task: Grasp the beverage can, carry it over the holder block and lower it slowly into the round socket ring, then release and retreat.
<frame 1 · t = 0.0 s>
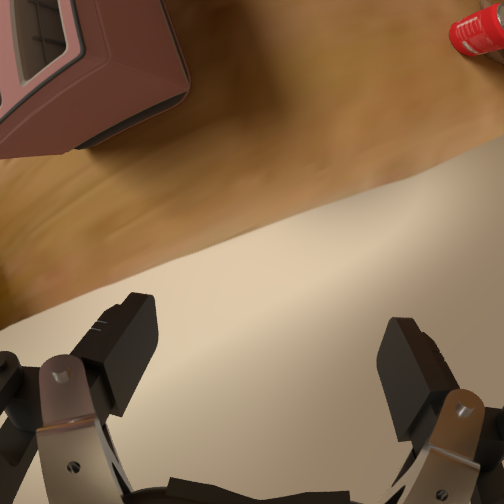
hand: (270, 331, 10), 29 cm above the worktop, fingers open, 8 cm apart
toaster: (102, 24, 30), on the worktop
beverage can: (461, 40, 27), on the worktop
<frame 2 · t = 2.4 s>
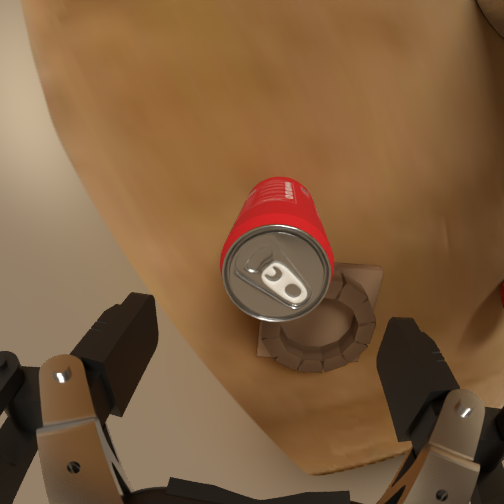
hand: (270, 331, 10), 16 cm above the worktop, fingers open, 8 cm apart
beverage can: (279, 206, 25), on the worktop
holder: (316, 311, 28), on the worktop
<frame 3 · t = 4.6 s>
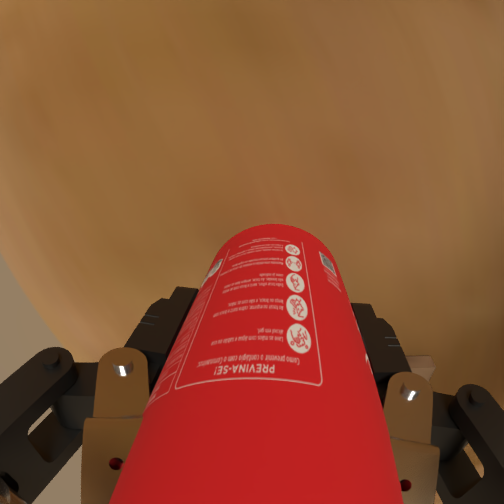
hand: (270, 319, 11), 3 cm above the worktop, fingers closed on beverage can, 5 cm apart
beverage can: (274, 272, 14), on the worktop, touching gripper
holder: (326, 415, 17), on the worktop
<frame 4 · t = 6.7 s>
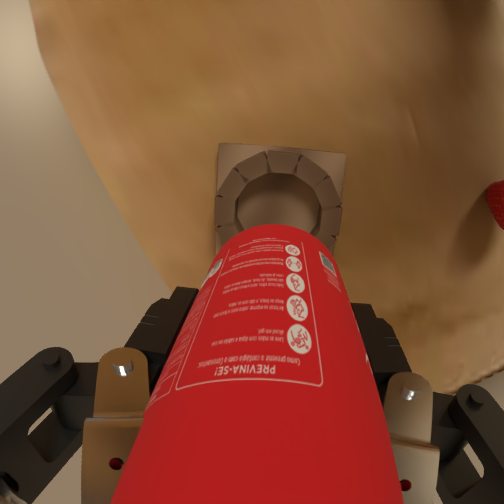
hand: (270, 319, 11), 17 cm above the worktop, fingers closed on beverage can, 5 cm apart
fruit: (490, 193, 23), on the worktop
beverage can: (274, 272, 14), point 13 cm above the worktop, touching gripper
holder: (278, 206, 26), on the worktop
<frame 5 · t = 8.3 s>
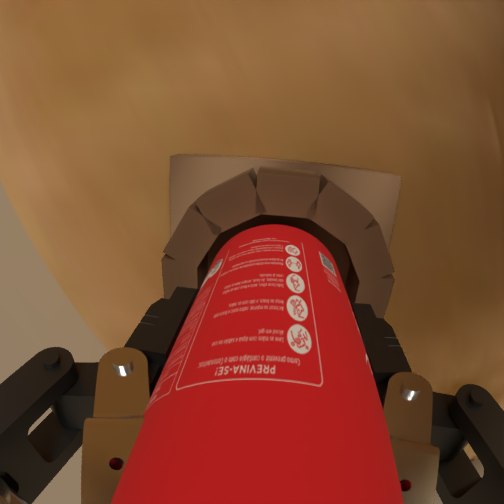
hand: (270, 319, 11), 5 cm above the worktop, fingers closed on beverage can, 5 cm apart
beverage can: (274, 272, 14), point 2 cm above the worktop, touching gripper
holder: (278, 263, 15), on the worktop
when the fingers open (4 cm above the worktop, at t = 9.3 s): beverage can stays where it is, resting on holder.
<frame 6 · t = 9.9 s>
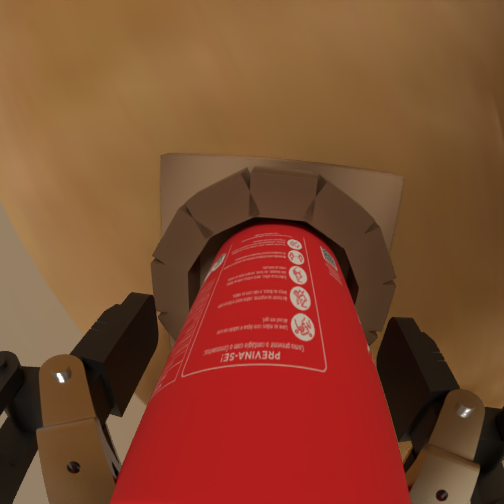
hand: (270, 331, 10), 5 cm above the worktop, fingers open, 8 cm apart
beverage can: (276, 268, 14), point 1 cm above the worktop, touching holder
holder: (273, 267, 15), on the worktop
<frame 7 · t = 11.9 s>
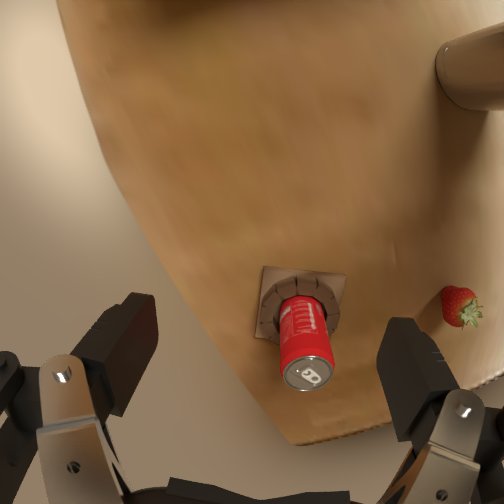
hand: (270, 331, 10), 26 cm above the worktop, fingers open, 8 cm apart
fruit: (445, 290, 38), on the worktop
beverage can: (300, 306, 39), point 1 cm above the worktop, touching holder
holder: (298, 305, 39), on the worktop
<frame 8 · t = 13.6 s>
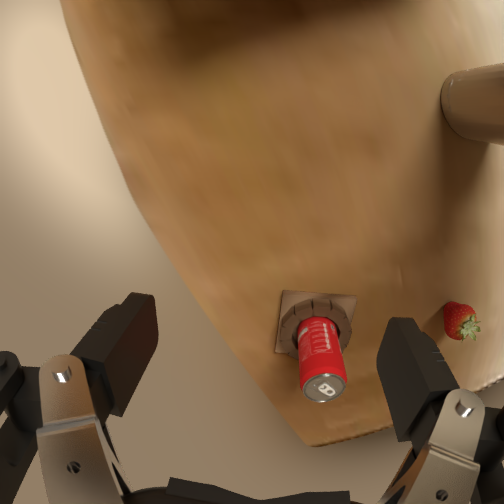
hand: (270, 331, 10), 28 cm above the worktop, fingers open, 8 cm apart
fruit: (447, 305, 40), on the worktop
beverage can: (315, 324, 42), point 1 cm above the worktop, touching holder
holder: (314, 323, 43), on the worktop
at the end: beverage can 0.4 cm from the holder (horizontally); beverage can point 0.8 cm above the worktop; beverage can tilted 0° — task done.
